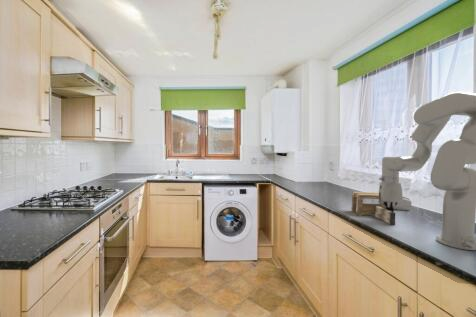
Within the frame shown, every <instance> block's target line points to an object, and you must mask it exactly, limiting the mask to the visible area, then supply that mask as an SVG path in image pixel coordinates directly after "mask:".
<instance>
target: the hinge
mask: <svg viewBox="0 0 476 317" xmlns="http://www.w3.org/2000/svg"><path fill="white" fill-rule="evenodd" d="M395 209H397V211H410V210H412V200H411V199H410V198H409V197H406V196H403V200H402V202H401V204H397V205H396V206H395V207H394V210H395Z"/></svg>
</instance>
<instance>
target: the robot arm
mask: <svg viewBox="0 0 476 317" xmlns="http://www.w3.org/2000/svg"><path fill="white" fill-rule="evenodd" d="M452 116H466V117H469V119H468V120H467V122H466V123H465V124H464V126H463V128H462V130H461V133H460V136H459V138H457V139H454V138H453V139H450V140H447V141H445V142H444V143H443V144H442V145H441V146H440V147H439V148H438V150H437V153H436V156H435V159H434V162H433V165H432V168H431V172H430V176H429V177H430V183H431V184H432V186H433V187H434V188H435V189H437V190H440V191H445V192H444V194H443V195H444V196H443V202H442V214H441V216H442V218H441V232H440V233H441V234H438V235H436V237H435V239H436V241H437V242H438V243H440V244H442V245H445V246H448V247H452V248H456V249H460V250H466V251H476V237H475V227H476V226H475V225H476V169H474V168H472V167H469V166H466V165H474V164H476V93H473V92H465V91H464V92H463V91H456V92H451V93H448V94H446V95H443V96H441V97H439V98H436V99H434V100H432V101H430V102H427V103H425V104H423V105H421V106H420V107H419V108H417V109H416V111H415V112H414V113H413V120H414V122H415V123H416V124H418V125H417V127H416V128H415V130H414V131H413V133H412V134H411V139H412V140H413V141H414V142H416V149H415V151H414V152H413V153H412V155H411V156H410V155H409V156H384V157H382V159H381V177H379V178H378V179H379V181H380V183H379V187H378V193H379V199H378V204H380V203H382V204H384V205H385V206H386V209H387V210H389V211H392V212H394V213H395V211H394V210H395V209H394V207H395V206H396V205H397V204H401V202H402V200H403V197H404V196H403V187H402V183H401V182H400V172H401V173H402V172H417V171H419V170H421V169H422V168H423V167H424V165H426V163H427V162H428V161H429V160H430V157H431V156H432V151H433V143H434V141H436V139H437V137H438V136H439V135H440V133H441V131H442V130H443V129H444V128H445V127H446V125H447V124H448V122H449V121H450V120H451V117H452Z"/></svg>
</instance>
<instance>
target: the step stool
mask: <svg viewBox="0 0 476 317" xmlns="http://www.w3.org/2000/svg"><path fill="white" fill-rule="evenodd" d="M351 193H352V194H351V197H352V198H351V212H353V213H356V215H357V216H358V217H363V215H369V216H370V215H371V216H372V215H373V216H375V206H379V207H382V208H384V209H386V206H385V205H384V204H382V203H365V202H364V203H363V200H364V199H367V200H379V192H376V191H375V192H374V191H372V192H371V191H352V192H351Z"/></svg>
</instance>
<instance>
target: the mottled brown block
mask: <svg viewBox="0 0 476 317" xmlns="http://www.w3.org/2000/svg"><path fill="white" fill-rule="evenodd" d="M374 217H375V218H377V219H378V220H381V221H383V222H385V223H387V224H389V225H391V226H392V225H394V226H395V225H396V212H395V211H394V212H392V211H389V210H387V209H384V208H382V207H379V206H375V215H374Z"/></svg>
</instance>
